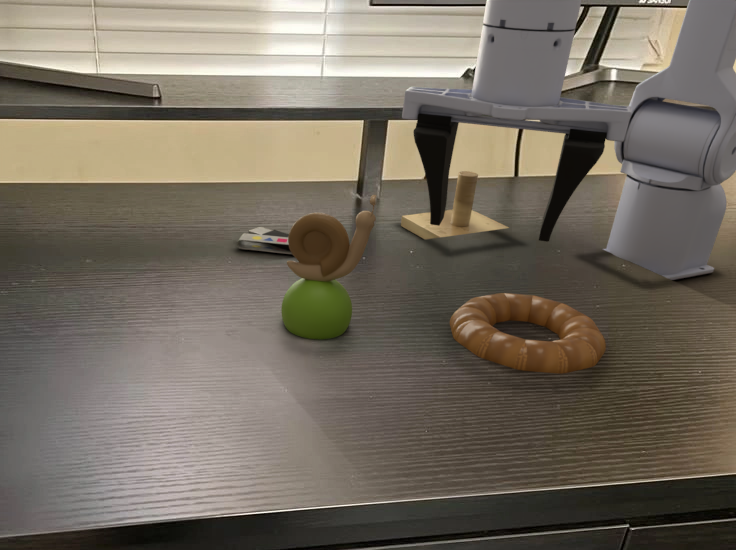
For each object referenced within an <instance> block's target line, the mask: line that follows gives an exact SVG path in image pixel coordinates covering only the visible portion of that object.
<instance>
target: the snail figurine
mask: <svg viewBox="0 0 736 550" xmlns="http://www.w3.org/2000/svg"><path fill="white" fill-rule="evenodd" d="M377 203H378V195H377V194H372V195H371V196H370V199H369V204H370V205H371V206H372V211H370V210H362V211H360V212H358V214H356V217H355V231H354V234H353V237H352V239H351V241H350V238H349V234H348V231H347V230H346V228H345V226H344V224H343V223H342V222H341V221H339V220H338V218H336V217H335V216H332V215H331V214H327V213H324V212H311V213H306V214H305V215H303V216H301V217H299V218H298V219H296V220H295V222H294V223H293V224H292V226H291V228H290V229H289V232H288V234H289V237H288V244H289V248H290V251H291V253H292V254H291V255H292V256H293V257H294V258H295V259H296V261H295V260H287V261H286V265H287V267H288V268H289V269H290V270H291V272H293V273H294V275H296V276H297V277H298V278H300V279H297V280H296V281H295V282H294V283H292V284H291V285H290V286H289V288H288V289H287V290H286V292H285V293H284V296H283V299H282V301H281V310H280V311H281V312H280V313H281V318H282V322H283V325H284V327H285V329H287V331H288V332H290V333H291V334H293V335H295V336H298V337H301V338H304V339H309V340H330V339H334V338H337V337H340V336H342V335H343V334H344V333H345V332H346V330H348V327H349V326H350V323H351V321H352V316H353V303H352V299H351V297H350V294H349V292H348V290H347V289H346V288H345V287H344V285H343V284H342V283H340V282H339V281H338V279H340V278H344V277H345V276H348V275H349V274H350V273H352V272H353V271H354V270H355V269H356V267H357V266H358V264H359V263H360V261H361V259H362V257H363V255H364V253H365V251H366V247H367V245H368V242H369V239H370V235H371V232H372V230H373V228H374V227H375V221H376V219H377V217H376V216H375V213H374V211H375V206H376V205H377Z"/></svg>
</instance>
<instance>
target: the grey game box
mask: <svg viewBox="0 0 736 550" xmlns="http://www.w3.org/2000/svg"><path fill="white" fill-rule="evenodd" d="M288 237H289V233H286V232H282V231H280V230H277V229H270V228H267V227H263V226H258V227H255V228H252V229H249V230H248V233H247V232H244V233H242V235H240V237H239V239H238V240H237V242H236V246H237V248H238V249H240V250H247V251H248V250H249V251H256V252H258V251H259V252H267V253H274V254H275V253H277V254H283V255H284V254H286V255H293V254H292V253H291V251H290V248H289V244H288Z"/></svg>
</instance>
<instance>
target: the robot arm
mask: <svg viewBox="0 0 736 550" xmlns="http://www.w3.org/2000/svg"><path fill="white" fill-rule="evenodd" d="M581 4H582V0H486V1H485V8H484V14H483V19H482V20H483V21H482V23H483V24H482V26H481V27H482V28H481V34H480V39H479V46H478V51H477V58H476V63H475V70H474V75H473V81H472V87H471V89H468V88H446V87H444V88H442V87H425V86H410V87H408V88H407V89H405V90H404V96H403V105H402V113H401V119H402V120H411V121H416V125H415V128H413V139H414V144H415V145H416V148H417V151H418V154H419V156H420V160H421V163H422V166H423V170H424V171H423V172H424V175H425V180H426V185H427V191H428V197H429V211H430V224H431V225H438V226H439V225H440V224H441V222H442V220H443V218H444V213H445V210H446V208H447V202H448V201H447V199H448V191H449V190H448V189H449V188H448V187H449V177H450V169H451V164H452V159H453V153H454V147H455V143H456V137H457V133H458V128H459V124H470V125H476V126H477V125H479V126H487V127H488V126H489V127H497V128H507V129H517V130H525V131H537V132H543V133H544V132H545V133H555V134H564V137H563V140H562V146H561V151H560V153H559V154H560V155H559V159H558V163H557V169H556V173H555V176H554V182H553V185H552V188H551V192H550V195H549V198H548V201H547V205H546V207H545V210H544V214H543V217H542V221H541V225H540V230H539V235H538V241H541V242H545V243H546V242H547V243H548V242H550V239H551V236H552V234H553V231H554V228H555V226H556V224H557V222H558V220H559V218H560V216H561V214H562V213H563V210H564V209H565V207H566V205H567V203H568V202H569V200H570V198H571V197H572V196H573V194H574V193H575V191H576V190H577V188H578V187H579V186H580V185H581V182H582V181H583V180H584V179H585V178H586V176H587V175H588V174H589V172H590V171H591V170H592V168H594V166H596V164H597V163H598V162H599V160H600V158H601V157H602V156H603V154H604V151H605V147H606V145H605V144H606V141H610V142H613V149H614V153H615V157H616V160H617V161H618V163H619V164H621V167H620V170H619V172H620V173H622V174H624V175H625V180H624V183H623V187H622V191H621V194H620V198H619V202H618V204H617V208H616V212H615V215H614V220H613V223H612V226H611V230H610V234H609V237H608V241H607V244H606V248H602V250H603V251H605V252H607V253H610V254H612V255H613V256H614V257H617V258H619V259H621V260H624V261H627V262H630V263H632V264H635V265H636V266H638V267H641V268H643V269H645V270H648V271H650V272H652V273H655V274H657V275H659V276H662V277H664V278H666V279H668V280H670V281H675V280H681V279H684V278H685V279H686V278H691V277H692V278H693V277H696V276H702V275H707V274H712V273H714V271H715V267H714V266H712V265H709V264H708V263H709V260H710V257H711V254H712V251H713V249H714V245H715V242H716V239H717V237H718V234H719V231H720V228H721V225H722V223H723V220H724V217H725V214H726V210H727V203H728V202H727V195H726V192H725V189H724V187H723V186H722V183H724V182H725V181H727V180H728V179H730V178H731V177H732V176H733V175H734V174H735V172H736V70H735V69H734V65H735V63H736V0H688V3H687V6H686V11H685V13H684V16H683V20H682V23H681V26H680V29H679V33H678V35H677V39H676V43H675V46H674V49H673V53H672V56H671V59H670V63H669V65H668V66H667V67H665V68H663V69H662V70H660V71H659V72H657V73H654V74H653V75H651V76H649V77H648V78H645V79H644V80H642V81H641V82H639V83H638V84H637V85H636V86H635V89H634V91H633V93H632V97H631V99H630V101H629V104H628V105H619V104H609V103H602V102H595V101H588V100H582V99H576V98H570V97H569V98H568V97H562V96H561V95H562V91H563V86H564V82H565V77H566V74H567V73H566V72H567V69H568V64H569V59H570V54H571V50H572V46H573V41H574V37H575V32H576V27H577V23H578V19H579V14H580V10H581ZM665 100H673V101H678V102H684V103H691V104H697V105H703V106H708V107H710V108H706V107H699V106H694V105H687V104H681V103H677V102H669V101H665ZM712 108H713V109H712Z"/></svg>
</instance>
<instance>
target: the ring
mask: <svg viewBox="0 0 736 550" xmlns="http://www.w3.org/2000/svg"><path fill="white" fill-rule="evenodd" d="M509 321H511V322H513V321H515V322H527V323H531V324H533V325H537V326H541V327H544V328H546V329H548V330H549V331H551V332H553V333H555V334H557V336H558V338H559V339H556V340H551V341H550V340H538V339H536V340H535V339H525V338H522V337H519V336H516V335H512V334H509V333H505V332H502V331H500V330H499V329H497V328H496V327H494V325H495V324H497V323H503V322H509ZM449 327H450V330H451V334H452V338H453V339H454V340H455V341H456V342H457V343H458V344H459V345H461V346H462V347H464V348H465V349H467V350H468V351H469V352H470V353H472V354H473V355H475V356H477V358H480V359H483V360H485V361H489V362H492V363H495V364H498V365H501V366H504V367H507V368H510V369H513V370H517V371H521V372H534V373H547V374H559V375H560V374H562V375H563V374H568V373H572V372H573V373H574V372H578V371H581V370H586V369H590V368H593V367H595V366H596V365H597V364H598V363H599V361H600V360H601V358H603V355H604V354H605V352H606V350H607V349H606V348H607V343H606V339H605V337H604V335H603V333H602V332H601V331H600V329H599V327H598V326H597V324H596V322H595V321H594V320H593V319H592V318H591V317H590V316H588V315H586V314H584V313H583V312H580V311H579V310H577V309H575V308H573V307H571V306H570V305H567V304H566V303H564V302H561V301H556V300H552V299H548V298H546V297H541V296H538V295H533V294H525V293H524V294H521V293H520V294H519V293H511V292H510V293H508V292H506V293H505V292H499V293H493V294H487V295H481V296H476V297H475V296H474V297H472V298H470V299H469V300H467V301H465V303H464V304H463V305H461V306H460V307H458V308H457V310H455V311H454V312H453V314H452V315H451V317H450V319H449Z"/></svg>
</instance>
